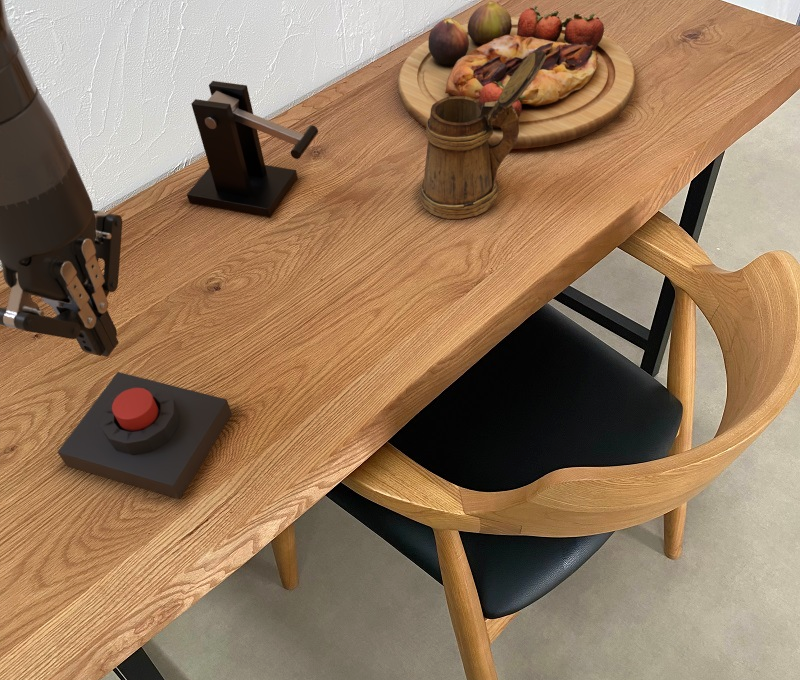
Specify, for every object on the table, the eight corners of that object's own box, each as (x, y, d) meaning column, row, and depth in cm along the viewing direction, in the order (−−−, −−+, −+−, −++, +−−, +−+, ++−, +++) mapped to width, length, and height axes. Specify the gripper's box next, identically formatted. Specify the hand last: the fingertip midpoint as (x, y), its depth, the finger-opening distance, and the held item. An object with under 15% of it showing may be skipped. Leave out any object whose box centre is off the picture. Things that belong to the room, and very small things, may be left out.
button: (110, 425, 71) (103, 413, 69) (132, 396, 73) (125, 383, 71) (145, 435, 70) (138, 423, 68) (166, 404, 72) (160, 392, 70)
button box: (66, 466, 73) (48, 440, 70) (125, 386, 79) (111, 359, 75) (180, 499, 70) (166, 474, 67) (232, 413, 75) (222, 386, 72)
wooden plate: (579, 180, 95) (587, 117, 89) (354, 119, 106) (347, 60, 100) (666, 55, 112) (678, -5, 105) (463, 15, 123) (463, -42, 117)
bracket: (298, 178, 99) (279, 81, 89) (270, 217, 94) (247, 120, 84) (220, 165, 102) (193, 70, 92) (189, 203, 97) (158, 107, 87)
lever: (317, 140, 91) (319, 123, 89) (299, 165, 88) (301, 147, 87) (222, 102, 92) (222, 83, 90) (201, 125, 89) (200, 107, 87)
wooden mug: (531, 225, 90) (543, 75, 76) (414, 216, 93) (405, 69, 79) (538, 178, 96) (550, 30, 82) (427, 171, 98) (421, 26, 84)
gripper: (25, 104, 56) (109, 286, 70) (-107, 219, 48) (16, 398, 62) (115, 119, 54) (184, 303, 68) (-7, 241, 47) (97, 421, 60)
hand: (103, 348), depth 65 cm, fingers closed
